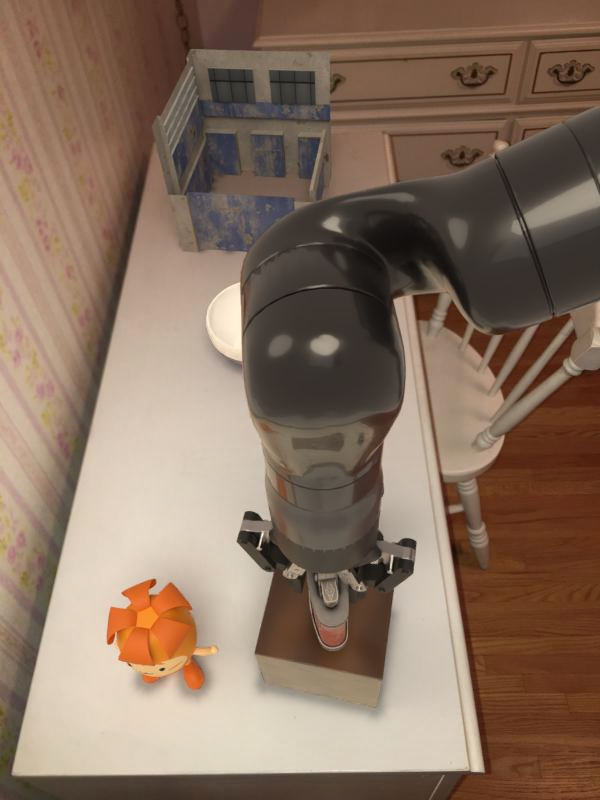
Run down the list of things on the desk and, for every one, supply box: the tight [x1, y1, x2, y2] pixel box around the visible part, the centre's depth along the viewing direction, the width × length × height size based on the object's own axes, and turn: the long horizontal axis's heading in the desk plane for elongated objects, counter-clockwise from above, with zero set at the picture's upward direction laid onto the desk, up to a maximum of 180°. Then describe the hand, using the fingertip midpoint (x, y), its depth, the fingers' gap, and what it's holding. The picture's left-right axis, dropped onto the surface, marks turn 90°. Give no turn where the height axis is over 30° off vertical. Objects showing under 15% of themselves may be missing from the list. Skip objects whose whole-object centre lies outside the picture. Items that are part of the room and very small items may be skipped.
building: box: [151, 48, 332, 253], centre depth 108 cm, size 23×24×23 cm
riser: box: [254, 568, 395, 708], centre depth 67 cm, size 12×10×12 cm
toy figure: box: [106, 578, 219, 691], centre depth 66 cm, size 12×8×15 cm, turn 81°
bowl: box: [205, 281, 242, 366], centre depth 95 cm, size 14×14×8 cm
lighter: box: [306, 570, 349, 651], centre depth 56 cm, size 8×3×10 cm, turn 8°
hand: (327, 587), depth 56 cm, fingers closed on lighter, 4 cm apart
